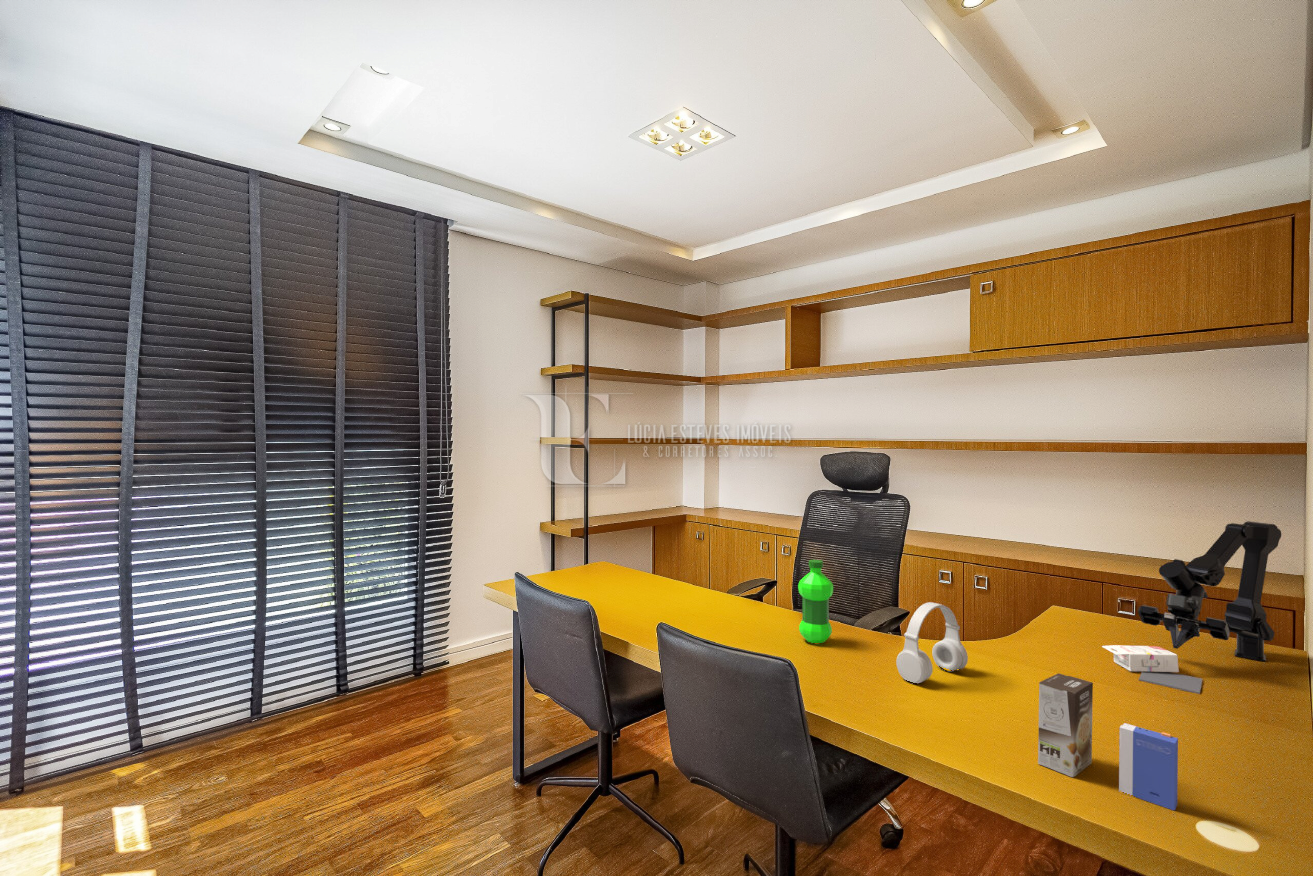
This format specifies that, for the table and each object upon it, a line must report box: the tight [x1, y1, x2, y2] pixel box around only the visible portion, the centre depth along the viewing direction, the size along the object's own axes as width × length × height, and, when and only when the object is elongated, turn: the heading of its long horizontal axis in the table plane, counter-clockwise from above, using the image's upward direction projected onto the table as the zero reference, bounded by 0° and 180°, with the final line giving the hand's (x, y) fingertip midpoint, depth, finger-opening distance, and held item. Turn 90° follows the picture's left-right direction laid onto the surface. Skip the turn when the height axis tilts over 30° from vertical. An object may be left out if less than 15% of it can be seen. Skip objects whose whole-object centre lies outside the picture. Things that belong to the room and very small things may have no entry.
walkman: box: [1118, 722, 1179, 811], centre depth 109 cm, size 8×3×12 cm, turn 42°
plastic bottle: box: [797, 559, 834, 644], centre depth 190 cm, size 10×10×25 cm
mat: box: [1138, 671, 1203, 695], centre depth 161 cm, size 12×12×1 cm
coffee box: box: [1037, 673, 1094, 778], centre depth 120 cm, size 9×6×16 cm
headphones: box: [895, 601, 969, 684], centre depth 163 cm, size 20×8×19 cm, turn 121°
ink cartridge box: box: [1101, 644, 1180, 673], centre depth 169 cm, size 9×5×15 cm
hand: (1175, 647), depth 165 cm, fingers closed
